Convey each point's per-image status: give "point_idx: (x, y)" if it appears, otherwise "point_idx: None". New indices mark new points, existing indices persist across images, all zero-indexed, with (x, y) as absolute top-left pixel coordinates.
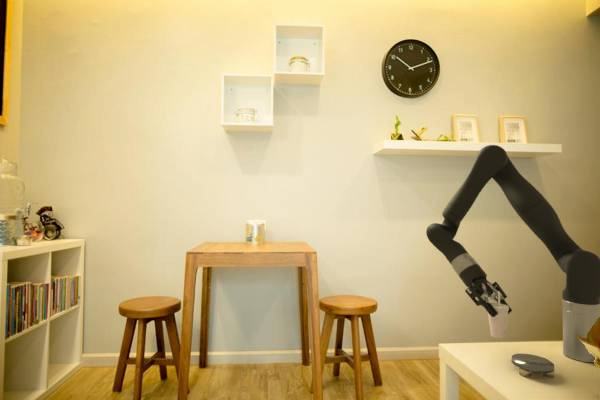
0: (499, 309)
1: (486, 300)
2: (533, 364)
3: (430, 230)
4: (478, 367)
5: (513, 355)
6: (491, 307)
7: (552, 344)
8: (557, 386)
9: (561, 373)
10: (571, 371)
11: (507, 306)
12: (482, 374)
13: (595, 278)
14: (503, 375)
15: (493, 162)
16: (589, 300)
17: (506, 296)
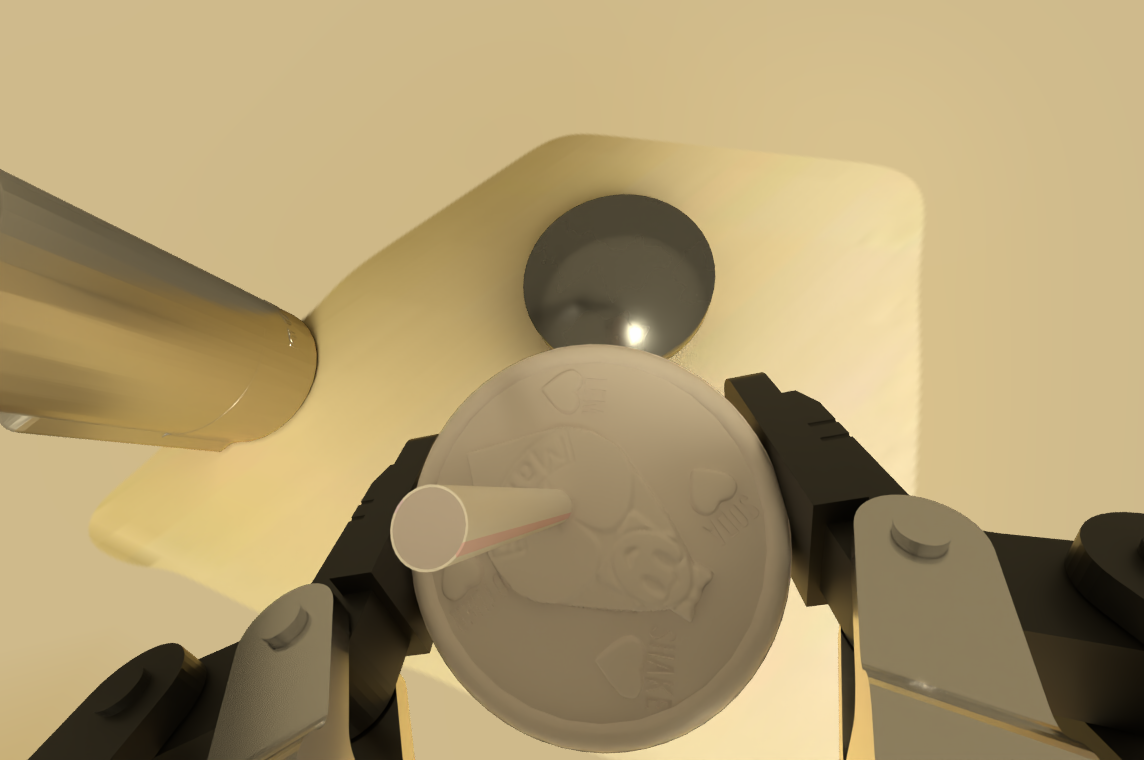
0: (689, 376)
1: (951, 556)
2: (649, 241)
3: None
4: (864, 412)
5: (656, 352)
6: (812, 443)
7: (206, 533)
8: (633, 190)
9: (505, 270)
10: (448, 276)
11: (476, 413)
12: (901, 339)
13: None
14: (789, 307)
15: None
16: None
17: (130, 671)
